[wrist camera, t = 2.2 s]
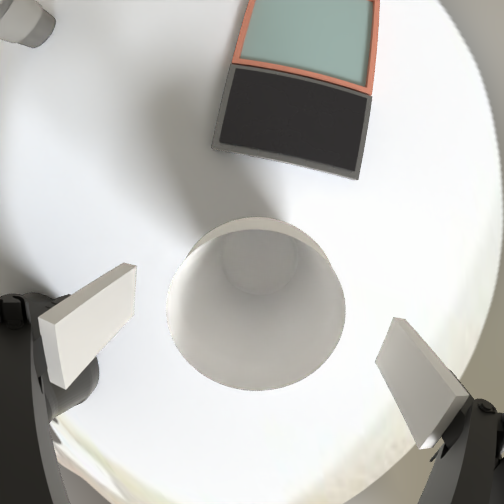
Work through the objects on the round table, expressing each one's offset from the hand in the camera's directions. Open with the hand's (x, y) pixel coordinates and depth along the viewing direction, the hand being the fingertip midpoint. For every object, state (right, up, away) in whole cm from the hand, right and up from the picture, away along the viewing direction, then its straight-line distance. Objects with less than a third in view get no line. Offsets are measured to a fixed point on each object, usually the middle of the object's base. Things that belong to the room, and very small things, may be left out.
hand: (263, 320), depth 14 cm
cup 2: (0, +3, +12) cm, 12 cm away
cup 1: (-26, +30, +6) cm, 40 cm away
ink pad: (+3, +14, +9) cm, 17 cm away
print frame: (+5, +24, +6) cm, 25 cm away
